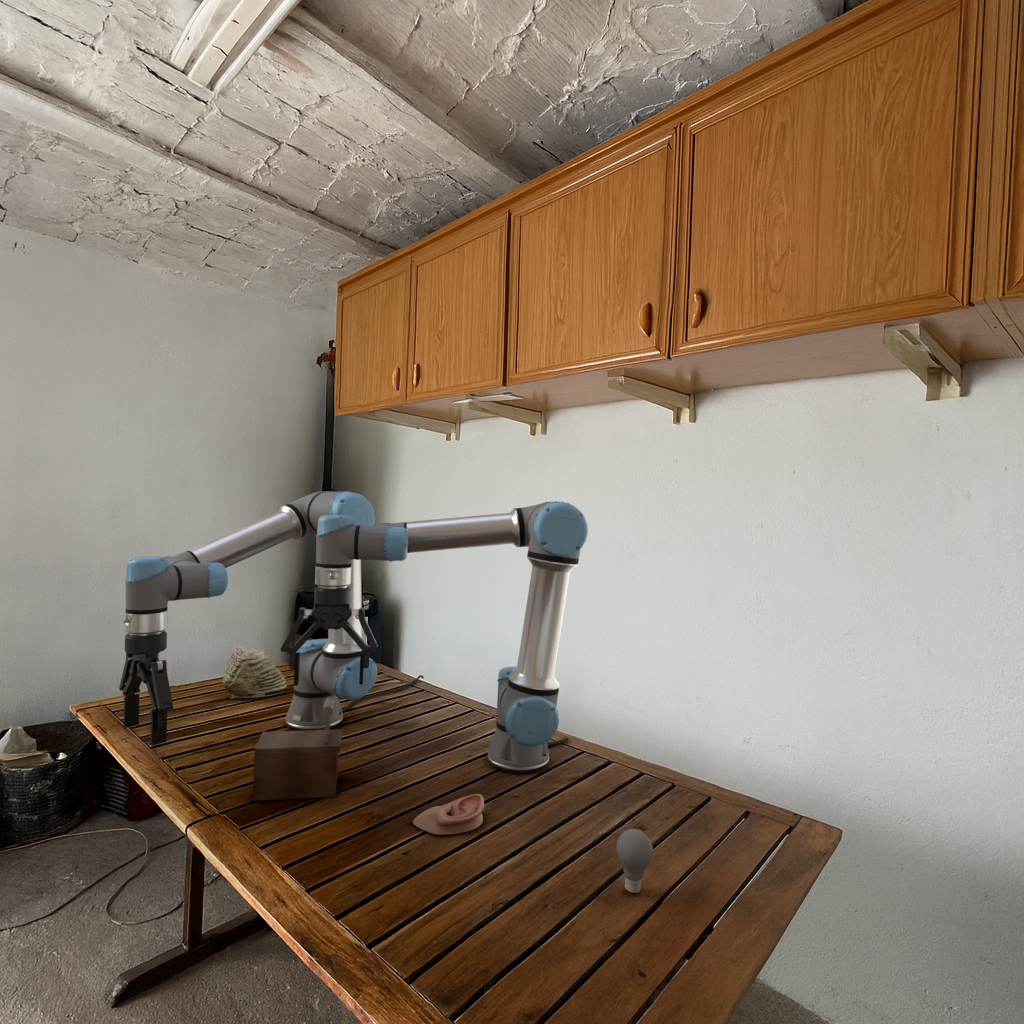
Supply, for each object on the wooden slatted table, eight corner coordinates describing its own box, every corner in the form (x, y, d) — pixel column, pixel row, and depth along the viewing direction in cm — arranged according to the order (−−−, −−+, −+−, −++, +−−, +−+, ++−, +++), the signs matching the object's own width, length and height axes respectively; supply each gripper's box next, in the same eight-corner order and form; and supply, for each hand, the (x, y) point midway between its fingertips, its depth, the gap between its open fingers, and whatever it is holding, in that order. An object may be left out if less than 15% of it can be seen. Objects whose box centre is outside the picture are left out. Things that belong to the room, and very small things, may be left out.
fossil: (218, 695, 195) (220, 647, 195) (278, 685, 208) (279, 640, 207) (228, 703, 189) (230, 653, 188) (289, 692, 201) (290, 645, 201)
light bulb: (610, 879, 108) (613, 822, 108) (644, 879, 109) (647, 822, 109) (619, 902, 102) (622, 840, 102) (655, 901, 103) (658, 840, 103)
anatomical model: (407, 809, 121) (427, 784, 133) (406, 830, 121) (426, 802, 133) (474, 819, 119) (489, 792, 130) (473, 840, 119) (488, 811, 130)
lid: (342, 734, 144) (343, 694, 143) (339, 751, 134) (341, 708, 134) (262, 737, 140) (264, 696, 140) (254, 755, 130) (255, 710, 130)
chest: (337, 776, 144) (339, 735, 143) (335, 796, 134) (337, 752, 134) (260, 780, 140) (262, 737, 140) (252, 801, 131) (254, 755, 130)
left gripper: (102, 625, 135) (101, 723, 135) (152, 645, 119) (150, 757, 120) (141, 620, 141) (139, 715, 141) (193, 639, 125) (191, 745, 126)
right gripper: (269, 587, 131) (265, 689, 132) (391, 589, 136) (387, 687, 137) (274, 582, 139) (271, 679, 139) (390, 584, 144) (387, 677, 144)
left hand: (144, 734), depth 130 cm, fingers open, 13 cm apart
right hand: (329, 683), depth 138 cm, fingers open, 13 cm apart
